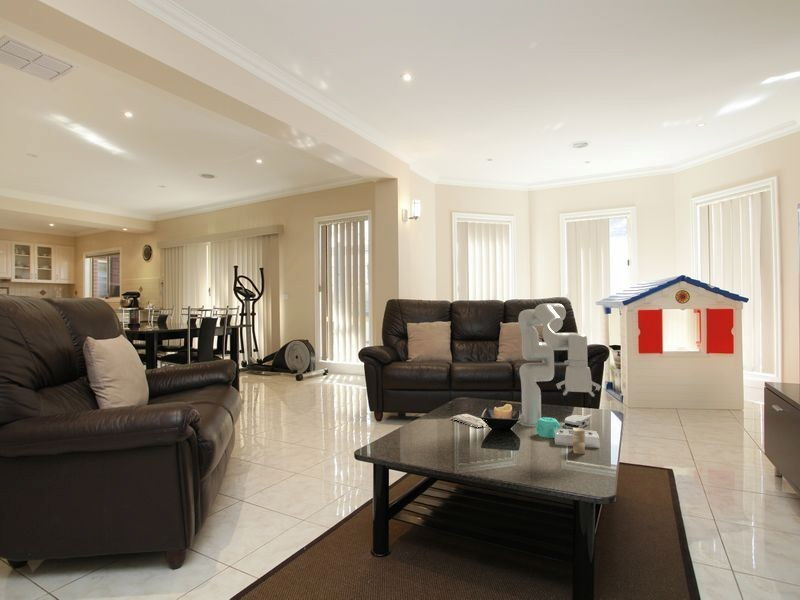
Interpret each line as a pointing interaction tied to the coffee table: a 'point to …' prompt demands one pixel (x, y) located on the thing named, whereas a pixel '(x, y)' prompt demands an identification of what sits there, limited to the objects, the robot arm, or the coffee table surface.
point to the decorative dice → (546, 427)
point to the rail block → (567, 437)
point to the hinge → (576, 421)
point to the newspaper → (469, 419)
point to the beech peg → (579, 440)
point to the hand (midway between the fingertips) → (578, 405)
